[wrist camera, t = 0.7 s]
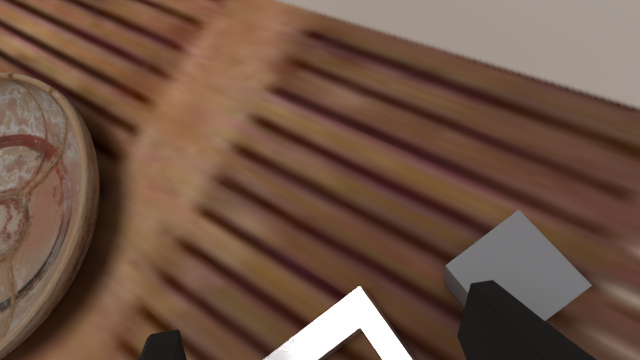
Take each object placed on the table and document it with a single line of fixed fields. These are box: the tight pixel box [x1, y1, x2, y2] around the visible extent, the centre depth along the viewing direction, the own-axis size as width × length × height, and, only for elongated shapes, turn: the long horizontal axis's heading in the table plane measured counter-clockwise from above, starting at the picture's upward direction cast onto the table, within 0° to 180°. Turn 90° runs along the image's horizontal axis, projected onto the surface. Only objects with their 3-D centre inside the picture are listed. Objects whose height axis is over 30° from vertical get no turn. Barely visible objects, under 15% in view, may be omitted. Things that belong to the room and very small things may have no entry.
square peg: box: [445, 210, 592, 321], centre depth 23 cm, size 4×4×8 cm
